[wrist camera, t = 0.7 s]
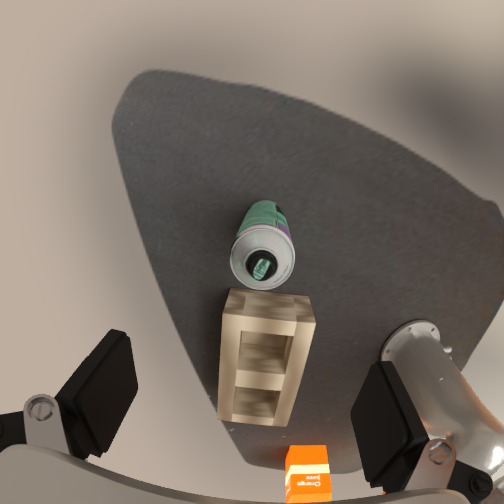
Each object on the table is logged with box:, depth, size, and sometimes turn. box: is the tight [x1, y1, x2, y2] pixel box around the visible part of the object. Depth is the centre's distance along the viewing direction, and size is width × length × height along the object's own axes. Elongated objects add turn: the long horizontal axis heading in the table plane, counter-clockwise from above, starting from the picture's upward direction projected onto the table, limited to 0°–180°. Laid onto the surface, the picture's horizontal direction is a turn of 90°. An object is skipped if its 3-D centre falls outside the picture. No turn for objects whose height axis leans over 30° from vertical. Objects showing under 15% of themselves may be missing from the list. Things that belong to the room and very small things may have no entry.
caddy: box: [217, 288, 316, 426], centre depth 43 cm, size 12×22×8 cm, turn 174°
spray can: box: [230, 200, 295, 290], centre depth 30 cm, size 6×6×20 cm
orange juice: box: [286, 445, 332, 503], centre depth 47 cm, size 8×9×20 cm
